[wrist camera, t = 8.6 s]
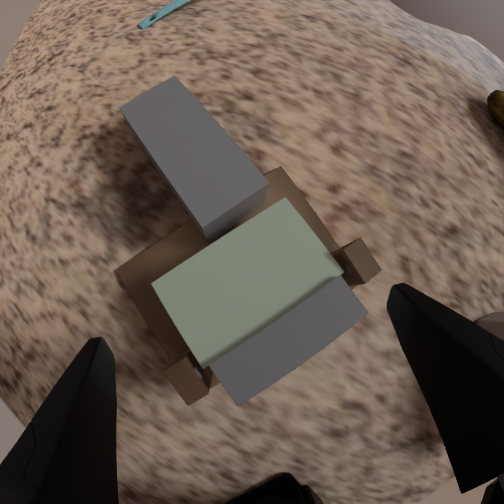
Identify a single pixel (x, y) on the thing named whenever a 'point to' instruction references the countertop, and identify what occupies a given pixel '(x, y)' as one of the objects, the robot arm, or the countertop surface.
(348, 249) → the trapdoor frame
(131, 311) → the countertop surface
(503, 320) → the grey plaster block
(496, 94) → the potato
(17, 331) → the countertop surface
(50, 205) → the countertop surface
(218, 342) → the trapdoor
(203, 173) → the grey rectangular block
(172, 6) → the ladle
